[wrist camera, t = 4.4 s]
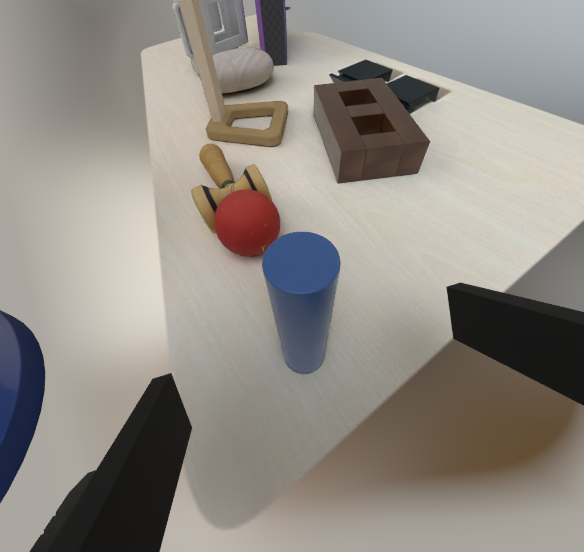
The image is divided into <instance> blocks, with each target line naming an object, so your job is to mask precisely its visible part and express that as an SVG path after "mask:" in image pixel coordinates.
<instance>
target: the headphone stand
mask: <svg viewBox="0 0 584 552" xmlns="http://www.w3.org/2000/svg"><path fill="white" fill-rule="evenodd" d="M179 2H180V6H181V9H182V13H183V16H184V20H185V24H186V27H187V31H188V35H189V38H190V42H191V45H192V49H193V53H194V56H195V60H196V64H197V67H198V71H199V74H200V78H201V82H202V85H203V89H204V92H205V96H206V100H207V103H208V107H209V111H210V114H211V119H210V121H209V123H208V125H207V127H206V132H207V135H208V138H209V139H212V140H219V141H228V142H236V143H245V144H254V145H263V146H276V145H278V144H279V143H280V142H281V140H282V136H283V131H284V127H285V123H286V119H287V114H288V105H287V103H286V102H284V101H272V102H259V103H247V104H234V105H224V101H223V97H222V93H221V88H220V84H219V80H218V76H217V72H216V68H215V64H214V60H213V56H212V52H211V48H210V44H209V40H208V36H207V31H206V27H205V23H204V19H203V15H202V11H201V7H200V3H199V0H179ZM258 116H273V117H272V120H271V124H270V127H269V128H268V129H264V130H259V129H249V128H239V127H230V126H231V124H232V121H233V120H234V119H236V118H246V117H258Z"/></svg>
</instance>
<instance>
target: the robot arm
mask: <svg viewBox="0 0 584 552" xmlns="http://www.w3.org/2000/svg"><path fill="white" fill-rule="evenodd" d="M447 294H448V301H449V309H450V316H451V324H452V331H453V339H455V340H457V341H459V342H461V343H463V344H465V345H467V346H469V347H471V348H473V349H475V350H477V351H479V352H481V353H483V354H485V355H487V356H488V357H490V358H492V359H494V360H496V361H498V362H500V363H502V364H504V365H506V366H508V367H510V368H512V369H514V370H516V371H518V372H520V373H522V374H523V375H525V376H527V377H529V378H532V379H533V380H535V381H537V382H539V383H541V384H543V385H545V386H547V387H549V388H551V389H553V390H555V391H556V392H559V393H561V394H563V395H564V396H566V397H569V398H570V399H572V400H574V401H576V402H578V403H580V404H582V405H584V312H581V311H577V310H573V309H569V308H565V307H560V306H555V305H552V304H548V303H544V302H539V301H535V300H531V299H527V298H523V297H519V296H514V295H510V294H506V293H502V292H498V291H493V290H489V289H485V288H481V287H477V286H473V285H468V284H464V283H458V284H455V285H451V286H448V287H447ZM191 430H192V426H191V424H190V421H189V418H188V416H187V413H186V410H185V408H184V405H183V403H182V400H181V397H180V395H179V392H178V390H177V387H176V384H175V382H174V379H173V376H172V374H171V373H170V374H167V375H164V376H160V377H157V378H154V379H152V381H151V382H150V384H149V386H148V387H147V389H146V391H145V392H144V394H143V395H142V397H141V399H140V400H139V402H138V404H137V405H136V407H135V409H134V410H133V412H132V413H131V415H130V416H129V418H128V420H127V421H126V423H125V425H124V426H123V428H122V429H121V431H120V433H119V434H118V436H117V438H116V439H115V441H114V442H113V444H112V446H111V448H110V449H109V450H108V452H107V454H106V455H105V457H104V459H103V460H102V462H101V464H100V465H99V467H98V468H97V470H95V471H92V472H89V473H88V474H87V475H86V476H85V477H84V478H83V479H82V480H81V481H80V482H79V483H78V484H77V485H76V486H75V487H74V488H73V489H72V490H71V491H70V492H69V494H68V495H67V497H66V498H65V499H64V501H63V503H62V504H61V505H60V507H59V508H58V510H57V512H56V516H54V517H52V519H51V520H50V522H49V523H48V525H47V526H46V528H45V530H44V534H42V535H40V537H39V538H38V540H37V541H36V543H35V545H34V546H33V548H32V549H31V550H30V552H159V551H160V548H161V544H162V540H163V536H164V532H165V528H166V525H167V521H168V517H169V513H170V510H171V506H172V502H173V498H174V495H175V490H176V487H177V483H178V479H179V476H180V472H181V468H182V464H183V460H184V457H185V453H186V449H187V445H188V441H189V438H190V434H191Z"/></svg>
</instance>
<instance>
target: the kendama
mask: <svg viewBox="0 0 584 552" xmlns="http://www.w3.org/2000/svg"><path fill="white" fill-rule="evenodd" d="M199 156H200V160H201V162H202V164H203V165H204V166H205V168H206V169H207V171H208V172H209V174H210V175H211V177H212V178H213V180H214V181H215V183H216V184H217V185H218V187H219V188H220V189H214V188H209V187H206V186H203V185H200V186H198V187H196V188H194V189H192V190H191V194H192V197H193V199H194V202H195V204H196V206H197V208H198V210H199V212H200V214H201V216H202V217H203V219H204V221H205V222H206V224H207V225H208V227H209V228H210V230H211V231H212V232H213V233H216V234H217V236H218V238H219V240H220V241H221V242H222V244H223V245H224V246H225V247H226V248H228V249H229V250H230V251H232V252H234V253H236V254H239V255H244V256H254V255H258V254H260V253H264V251H266V250H267V248H268V247H269V246H270V245H271V243H273V242H274V241H275V240H276V239H277V237H278V235H279V231H280V217H279V213H278V210H277V208H276V206H275V205H274V203H273V202H272V199H271V196H270V193H269V190H268V188H267V185H266V183H265V181H264V179H263V177H262V175H261V173H260V171H259V170H258V168H257V166H256V165H251V166H248V167H246V168H245V170H244V173H243V175H242V176H241V178H240V179H239V180H238V181H237V182H236V183H235V182H234V178H233V175H232V173H231V170H230V168H229V166H228V164H227V162H226V159H225V157H224V155H223V152H222V150H221V149H220V148H219V147H218V146H217V145H215V144H207V145H205V146H203V147H202V149H201V151H200V155H199Z"/></svg>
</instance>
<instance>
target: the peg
mask: <svg viewBox="0 0 584 552" xmlns="http://www.w3.org/2000/svg"><path fill="white" fill-rule="evenodd" d="M262 267H263V272H264V276H265V280H266V284H267V289H268V293H269V297H270V301H271V305H272V310H273V314H274V318H275V322H276V326H277V330H278V335H279V339H280V343H281V347H282V351H283V356H284V359H285V362H286V364H287V365H288V366H289V368H291V369H292V370H293V371H295V372H297V373H301V374H307V373H311V372H314V371H315V370H317V369H318V368H319V367H320V366H321V364H322V363H323V360H324V356H325V351H326V345H327V339H328V334H329V328H330V322H331V317H332V311H333V305H334V300H335V294H336V288H337V282H338V277H339V271H340V256H339V253H338V251H337V249H336V248H335V246H334V245H333V244H332V243H331V242H330V241H329V240H327V239H326V238H324V237H323V236H320V235H318V234H315V233H311V232H294V233H289V234H286V235H284V236H281V237H279V238H278V239H276V240H275V241H274V242H273V243H271V245H270V246H269V247H268V248H267V250H266V252H265V254H264V257H263V262H262Z"/></svg>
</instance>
